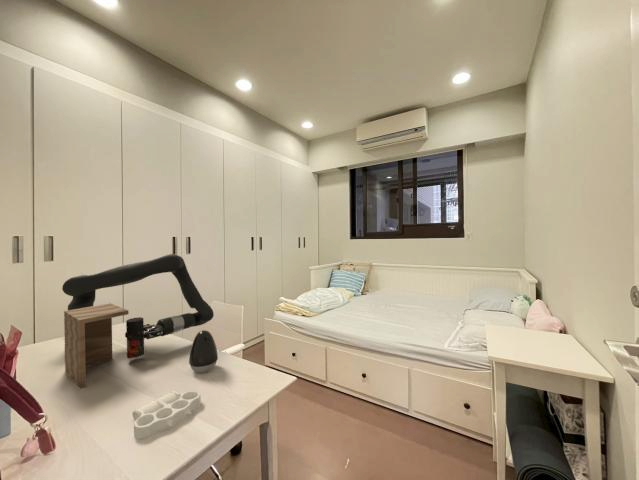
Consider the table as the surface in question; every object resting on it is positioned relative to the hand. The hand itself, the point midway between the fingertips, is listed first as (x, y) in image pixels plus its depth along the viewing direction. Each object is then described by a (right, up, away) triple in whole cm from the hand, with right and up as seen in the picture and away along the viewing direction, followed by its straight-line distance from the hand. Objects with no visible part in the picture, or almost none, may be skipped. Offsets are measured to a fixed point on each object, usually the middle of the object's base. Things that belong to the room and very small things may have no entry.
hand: (128, 336), depth 110 cm
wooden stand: (-7, -11, -7) cm, 15 cm away
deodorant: (+2, -9, +2) cm, 9 cm away
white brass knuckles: (+34, -12, -33) cm, 49 cm away
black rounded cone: (+34, -11, -6) cm, 36 cm away
